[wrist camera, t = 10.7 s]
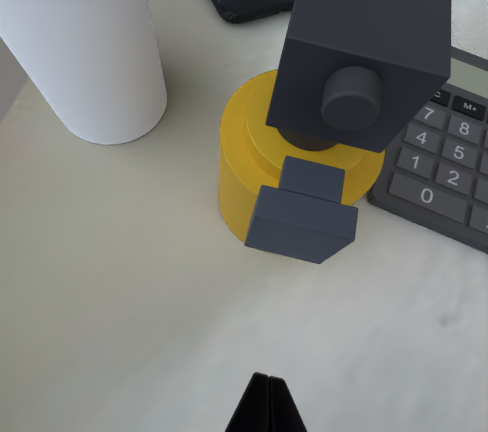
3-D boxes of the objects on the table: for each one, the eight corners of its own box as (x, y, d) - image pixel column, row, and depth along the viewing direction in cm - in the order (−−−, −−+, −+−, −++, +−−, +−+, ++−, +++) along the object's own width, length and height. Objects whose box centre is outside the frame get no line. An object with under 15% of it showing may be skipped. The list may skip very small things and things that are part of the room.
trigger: (319, 264, 12) (355, 240, 9) (244, 246, 12) (254, 216, 9) (327, 211, 13) (362, 173, 10) (256, 194, 13) (269, 150, 10)
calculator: (372, 195, 20) (424, 32, 25) (366, 201, 21) (417, 43, 26) (559, 274, 19) (573, 90, 24) (544, 277, 20) (560, 98, 25)
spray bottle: (322, 269, 19) (548, 133, 6) (204, 240, 19) (180, 43, 6) (338, 162, 22) (522, -95, 9) (233, 136, 22) (260, -159, 9)
